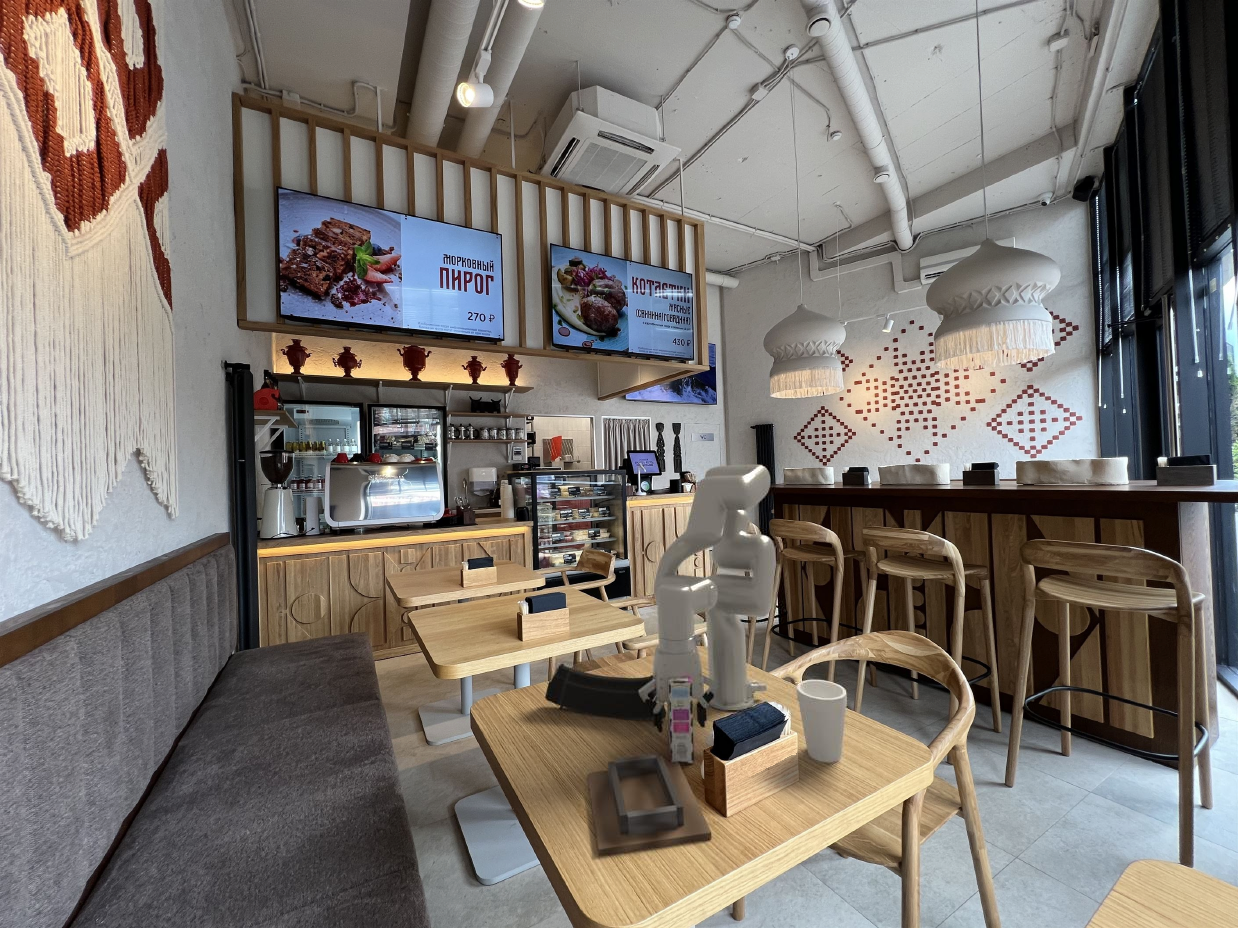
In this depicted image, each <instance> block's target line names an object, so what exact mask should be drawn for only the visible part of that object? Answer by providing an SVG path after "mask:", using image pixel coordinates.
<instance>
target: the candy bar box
mask: <svg viewBox="0 0 1238 928" xmlns="http://www.w3.org/2000/svg"><path fill="white" fill-rule="evenodd" d="M668 694H669V702H666V706H667V707H666V716H667V732H668V733H667V736H668V748H669V757H670V762H677V761H678V762H679V764H680V765H681V764H685V765H688V764H695V747H694V746H695V745H694V744H695V743H694V713H693V712H694V711H693V710H694V709H693V699H692V680H691V677H680V678H669V679H668Z"/></svg>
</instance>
